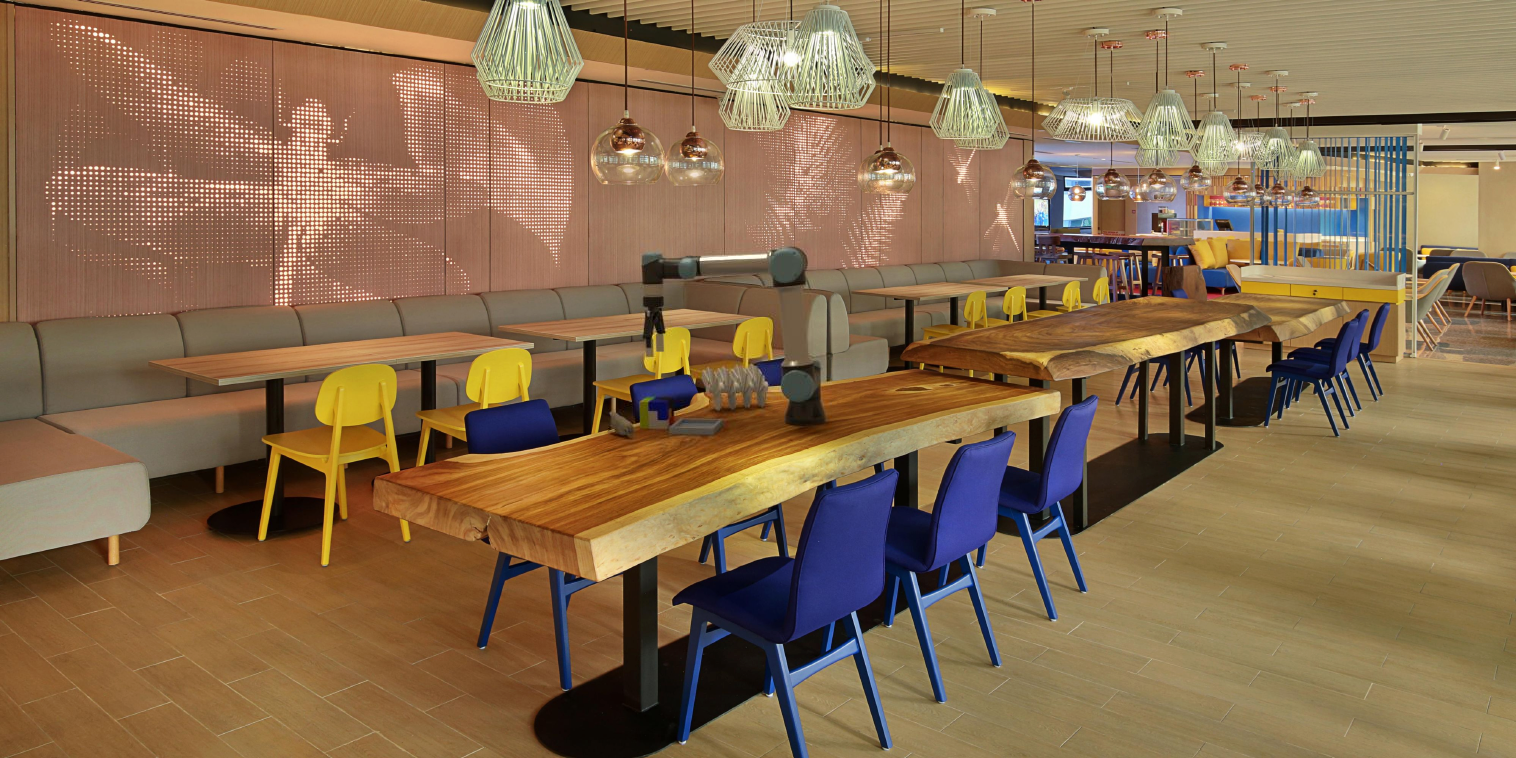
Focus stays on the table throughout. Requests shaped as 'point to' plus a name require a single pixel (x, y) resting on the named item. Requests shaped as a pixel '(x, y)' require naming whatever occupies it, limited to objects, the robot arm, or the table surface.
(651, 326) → the robot arm
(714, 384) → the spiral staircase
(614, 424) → the decorative bird
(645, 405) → the puzzle toy
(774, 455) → the table surface
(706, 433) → the tray
